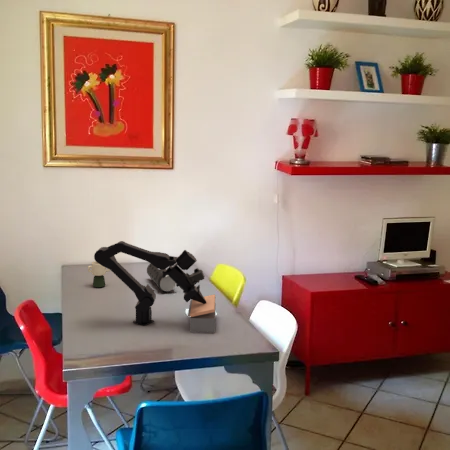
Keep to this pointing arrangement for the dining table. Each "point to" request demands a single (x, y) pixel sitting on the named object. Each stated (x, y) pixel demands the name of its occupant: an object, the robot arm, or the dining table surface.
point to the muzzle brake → (160, 278)
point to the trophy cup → (98, 274)
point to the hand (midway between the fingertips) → (205, 302)
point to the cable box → (203, 323)
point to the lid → (202, 306)
